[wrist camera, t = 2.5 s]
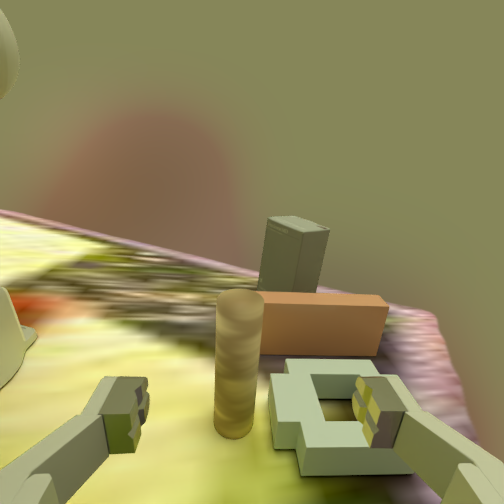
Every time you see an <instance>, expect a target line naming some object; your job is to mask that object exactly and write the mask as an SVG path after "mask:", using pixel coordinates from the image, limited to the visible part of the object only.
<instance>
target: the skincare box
mask: <svg viewBox="0 0 504 504" xmlns="http://www.w3.org/2000/svg"><path fill="white" fill-rule="evenodd" d="M329 232H330V229H329V228H326V227H323V226H321V225H318V224H315V223H314V222H312V221H308V220H304V219H302V218H299V217H296V216H283V217H282V216H280V217H269V218H268V220H267V227H266V233H265V240H264V247H263V253H262V260H261V267H260V273H259V280H258V286H257V291H267V292H299V293H316V289H317V285H318V280H319V276H320V271H321V267H322V262H323V258H324V254H325V248H326V245H327V241H328V236H329Z"/></svg>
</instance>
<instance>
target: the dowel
mask: <svg viewBox="0 0 504 504" xmlns="http://www.w3.org/2000/svg"><path fill="white" fill-rule="evenodd" d="M263 311H264V299H263V297H262V296H261V295H260V294H258V293H257V292H254V291H252V290H248V289H230V290H226V291H224V292H222V293H221V294H219V295H218V297H217V310H216V353H215V397H214V426H215V428H216V430H217V432H218V433H219V434H220V435H222V436H223V437H225V438H228V439H239V438H242V437H244V436H245V435H247V434H248V433H249V432H250V430H251V428H252V426H253V419H254V408H255V398H256V387H257V376H258V365H259V354H260V344H261V333H262V322H263Z"/></svg>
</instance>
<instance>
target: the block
mask: <svg viewBox="0 0 504 504" xmlns="http://www.w3.org/2000/svg"><path fill="white" fill-rule="evenodd" d="M367 376H382V377H383V376H396V377H398V375H380V374H379V373H378V371H377V370H376V368H375V367H374V365H373V363H372V362H371V360H346V359H286V360H285V367H284V374H270V383H269V392H268V404H269V412H270V420H271V428H272V436H273V443H274V449H296V453H297V458H298V463H299V468H300V473H301V476H321V475H376V474H414V471H413V470H412V469H411V468H410V467H409V466H408V465H407V464H406V463H405V462H404V461H403V460H402V459H401V458H400V457H399V456H398V455H397V454H396V453H395V452H394V451H393V449H386V448H370V447H369V445H368V443H367V441H366V439H365V436H364V434H363V432H362V428H363V424H362V423H360V422H359V421H327V422H325V419H324V416H323V412H322V409H321V406H320V403H319V400H318V398H328V399H352V397H353V393H354V392H355V391H356V390H357V387H356V385H355V383H356V379H357V378H358V377H367ZM398 378H399V377H398ZM399 379H400V378H399ZM400 381H401V380H400ZM401 382H402V381H401ZM402 383H403V382H402ZM403 385H404V384H403ZM404 386H405V385H404ZM406 389H407V388H406ZM407 390H408V389H407ZM408 392H409V391H408ZM409 393H410V392H409ZM411 396H412V395H411ZM412 397H413V396H412ZM413 399H414V398H413ZM414 400H415V399H414ZM416 403H417V402H416ZM419 407H420V406H419ZM421 410H422V409H421Z"/></svg>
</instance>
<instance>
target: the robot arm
mask: <svg viewBox="0 0 504 504" xmlns="http://www.w3.org/2000/svg"><path fill="white" fill-rule="evenodd" d="M19 63H20V58H19V50H18V45H17V42H16V39H15V36H14V33H13V30H12V28H11V26H10V24H9V22H8V21H7V19H6V17H5V15H4V14H3V12H2V10H1V9H0V99H2V98H3V97H4V96H5V95H6V94H8V92H9V91H10V90H11V89H12V87H13V86H14V84H15V82H16V79H17V76H18V73H19V65H20V64H19ZM36 338H37V333H36V331H35V329H33V328H30V327H27V326H23V325H20V323H19V320H18V317H17V315H16V312H15V309H14V307H13V304H12V301H11V299H10V296H9V293H8V291H7V290H6V289H5V288H4V287H0V388H1V387H2V386H3V385H5V384H6V383H7V382H8V381H9V380H10V379H11V378H12V377H13V375H14V374H15V373H16V372H17V370H18V369H19V367H20V365H21V364H22V361H23V358H24V354H25V351H26V350H27V348H28V347H29V346H30V345H31V344H32V343H33V342H34V341H35V340H36ZM355 385H356V387H357V390H356V391H355V392H354V393H353V397H352V407H353V411H354V414H355V416H356V419H357V420H358V421H359V422H360V423H362V424H363V428H362V432H363V434H364V436H365V439H366V441H367V443H368V445H369V447H370V448H386V449H393V451H394V452H395V453H396V454H397V455H398V456H399V457H400V458H401V459H402V460H403V461H404V462H405V463H406V464H407V465H408V466H409V467H410V468H411V469H412V470H413V471H414V472H415V473H416V474H417V475H418V476H419V477H420V478H421V479H422V480H423V481H424V482H425V483H426V484H427V485H428V486H429V487H430V488H431V489H432V490H433V491H434V492H436V493H437V494H438V495H439V496H440V497H441V498H442V501H441V503H440V504H504V464H503V463H502V462H501V461H500V460H498V459H497V458H495V457H494V456H492V455H491V454H489V453H488V452H486V451H485V450H483V449H482V448H480V447H479V446H478V445H476V444H475V443H473V442H472V441H470V440H469V439H467V438H466V437H464V436H463V435H461V434H460V433H458V432H457V431H455V430H454V429H452V428H451V427H449V426H448V425H446V424H445V423H443V422H442V421H440V420H439V419H437V418H436V417H434V416H433V415H431V414H430V413H428V412H423V411H422V410H421V408H420V407H419V405H418V404H417V403H416V401H415V400H414V399H413V397H412V396H411V394H410V393H409V392H408V390H407V389H406V387H405V386H404V385H403V383H402V382H401V381H400V379H399V378H398V377H396V376H383V377H382V376H367V377H358V378H357V379H356V383H355ZM147 387H148V380H147V378H146V377H124V376H119V377H111V376H105V377H104V378H103V379H102V380H101V381H100V383H99V384H98V386H97V388H96V390H95V391H94V393H93V395H92V396H91V398H90V400H89V401H88V403H87V405H86V407H85V408H84V410H83V412H82V413H81V415H76V416H74V417H73V418H72V419H70V420H69V421H67V422H66V423H65V424H63V425H62V426H61V427H59V428H58V429H56V430H55V431H54V432H52V433H51V434H50V435H48V436H47V437H45V438H44V439H43V440H41V441H40V442H39V443H37V444H36V445H34V446H33V447H32V448H30V449H29V450H28V451H26V452H25V453H23V454H22V455H21V456H19V457H18V458H17V459H15V460H14V461H12V462H11V463H10V464H8V465H7V466H6V467H4V468H3V469H1V470H0V504H65V503H66V502H67V501H68V500H69V499H70V498H71V497H72V496H73V495H74V494H75V493H76V491H77V490H78V489H79V488H80V487H81V486H82V485H83V484H84V483H85V482H86V481H87V479H88V478H89V477H90V476H91V475H92V474H93V473H94V472H95V471H96V470H97V469H98V467H99V466H100V465H101V464H102V463H103V462H104V461H105V460H106V459H107V458H108V457H109V454H125V453H135V451H136V448H137V445H138V442H139V439H140V436H141V426H142V425H143V424H144V423H145V421H146V418H147V415H148V410H149V400H150V399H149V393H148V392H146V390H147Z"/></svg>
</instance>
